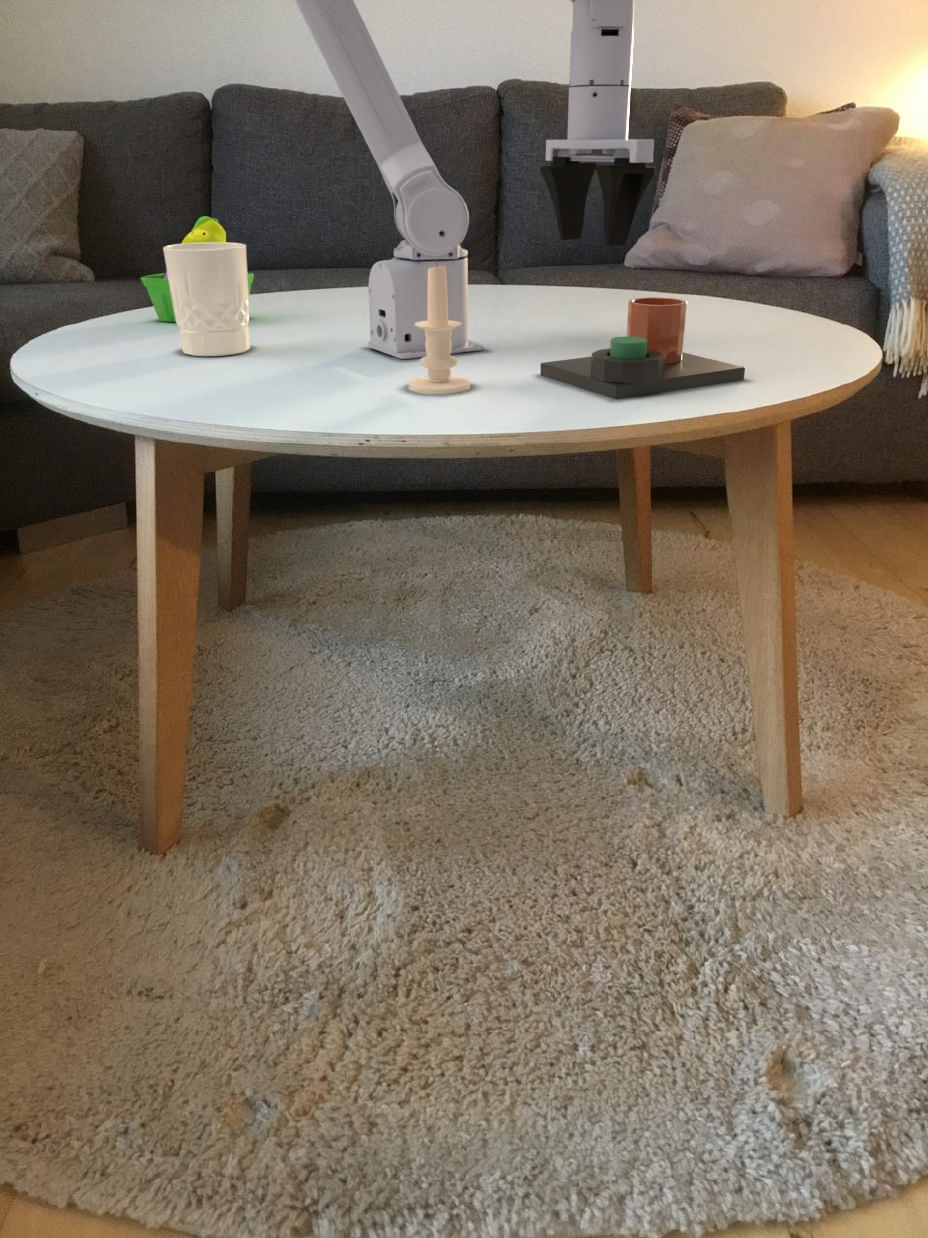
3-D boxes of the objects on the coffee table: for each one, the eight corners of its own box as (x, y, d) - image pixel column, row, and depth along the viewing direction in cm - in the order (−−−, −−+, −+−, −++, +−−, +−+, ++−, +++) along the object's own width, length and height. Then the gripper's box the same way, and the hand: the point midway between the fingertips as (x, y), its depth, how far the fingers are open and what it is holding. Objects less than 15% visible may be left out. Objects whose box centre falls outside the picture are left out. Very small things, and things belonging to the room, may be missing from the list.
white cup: (271, 349, 103) (262, 245, 98) (205, 361, 97) (192, 251, 93) (226, 340, 107) (215, 240, 103) (161, 351, 102) (147, 246, 98)
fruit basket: (142, 322, 119) (128, 219, 114) (188, 311, 126) (177, 214, 121) (224, 327, 115) (213, 221, 110) (266, 316, 122) (258, 215, 117)
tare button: (624, 363, 82) (626, 343, 81) (602, 357, 84) (603, 338, 84) (653, 359, 83) (655, 340, 83) (630, 353, 86) (632, 334, 85)
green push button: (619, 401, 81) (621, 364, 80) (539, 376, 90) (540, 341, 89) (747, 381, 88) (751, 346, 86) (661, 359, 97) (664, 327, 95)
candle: (396, 387, 87) (392, 259, 82) (445, 378, 89) (443, 254, 85) (432, 398, 83) (429, 264, 78) (482, 389, 86) (482, 259, 81)
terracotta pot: (649, 366, 88) (653, 307, 86) (614, 357, 92) (617, 300, 90) (693, 360, 90) (698, 302, 88) (657, 351, 94) (661, 295, 92)
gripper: (684, 84, 90) (672, 245, 96) (588, 90, 102) (582, 234, 107) (621, 82, 87) (612, 249, 93) (529, 89, 98) (526, 238, 104)
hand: (592, 242), depth 100 cm, fingers open, 7 cm apart
